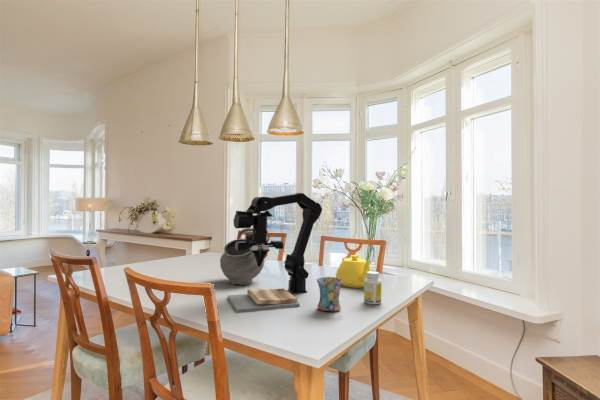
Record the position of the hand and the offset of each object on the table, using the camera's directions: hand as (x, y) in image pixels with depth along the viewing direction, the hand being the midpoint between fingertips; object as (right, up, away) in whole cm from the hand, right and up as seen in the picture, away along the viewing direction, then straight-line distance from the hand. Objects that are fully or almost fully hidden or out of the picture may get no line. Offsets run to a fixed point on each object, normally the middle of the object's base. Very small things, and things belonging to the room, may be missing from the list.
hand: (259, 266), depth 139 cm
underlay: (+2, -12, -8) cm, 14 cm away
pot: (-11, -12, +25) cm, 30 cm away
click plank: (+3, -11, -8) cm, 13 cm away
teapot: (+43, -13, +24) cm, 51 cm away
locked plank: (+10, -12, -5) cm, 16 cm away
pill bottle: (+45, -13, -5) cm, 47 cm away
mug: (+27, -13, -16) cm, 34 cm away
